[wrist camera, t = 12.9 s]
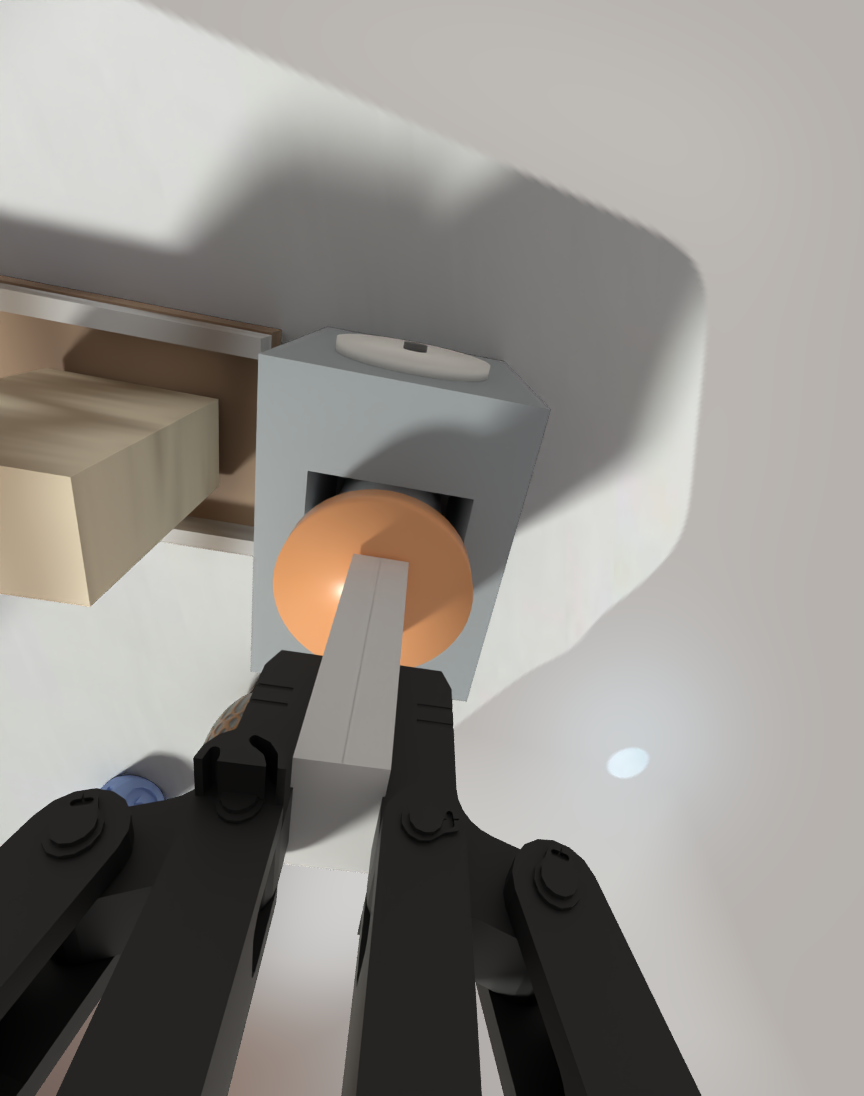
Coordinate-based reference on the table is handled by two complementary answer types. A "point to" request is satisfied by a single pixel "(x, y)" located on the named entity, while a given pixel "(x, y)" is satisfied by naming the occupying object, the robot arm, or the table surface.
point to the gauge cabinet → (392, 458)
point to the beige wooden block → (95, 478)
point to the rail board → (153, 378)
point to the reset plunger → (386, 532)
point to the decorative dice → (134, 789)
